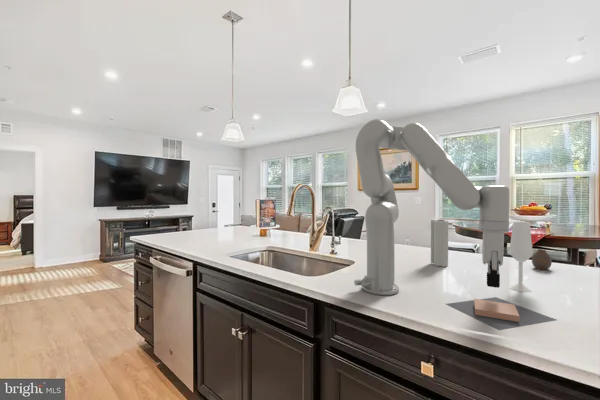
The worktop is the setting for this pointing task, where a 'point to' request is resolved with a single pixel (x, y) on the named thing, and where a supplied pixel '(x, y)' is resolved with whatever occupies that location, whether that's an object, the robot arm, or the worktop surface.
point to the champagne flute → (521, 250)
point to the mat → (524, 319)
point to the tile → (496, 310)
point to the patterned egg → (541, 260)
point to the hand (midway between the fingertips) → (493, 286)
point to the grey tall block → (439, 242)
